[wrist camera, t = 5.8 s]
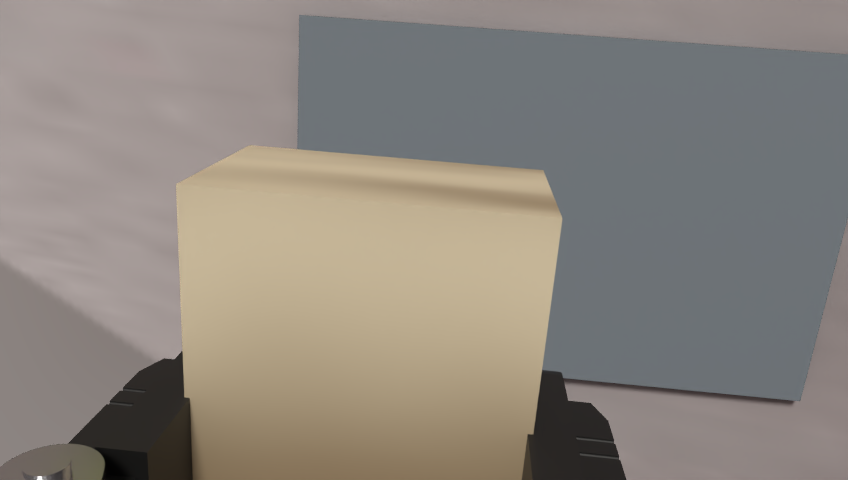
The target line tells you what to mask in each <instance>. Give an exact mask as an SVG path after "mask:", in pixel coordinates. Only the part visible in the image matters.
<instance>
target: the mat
mask: <svg viewBox="0 0 848 480" xmlns="http://www.w3.org/2000/svg"><path fill="white" fill-rule="evenodd" d="M297 149H299V150H311V151H323V152H335V153H346V154H358V155H370V156H382V157H394V158H405V159H417V160H429V161H441V162H452V163H464V164H476V165H488V166H499V167H511V168H523V169H535V170H543V171H544V173H545V176H546V178H547V181H548V183H549V186H550V188H551V191H552V193H553V196H554V198H555V201H556V203H557V206H558V208H559V211H560V213H561V216H562V226H561V233H560V241H559V248H558V255H557V263H556V270H555V278H554V285H553V292H552V300H551V307H550V315H549V322H548V329H547V337H546V344H545V352H544V359H543V366H542V370H548V371H558V372H561V373H562V375H563V378H568V379H578V380H588V381H598V382H609V383H619V384H629V385H639V386H649V387H660V388H670V389H680V390H690V391H701V392H711V393H721V394H731V395H742V396H752V397H762V398H772V399H783V400H793V401H800V400H801V396H802V392H803V388H804V384H805V381H806V377H807V373H808V369H809V365H810V361H811V357H812V354H813V350H814V346H815V342H816V338H817V334H818V330H819V327H820V323H821V319H822V315H823V311H824V307H825V303H826V300H827V296H828V292H829V288H830V284H831V280H832V276H833V273H834V269H835V265H836V261H837V257H838V253H839V249H840V246H841V242H842V238H843V234H844V230H845V226H846V222H847V218H848V55H847V54H834V53H820V52H806V51H792V50H778V49H764V48H750V47H736V46H723V45H709V44H695V43H681V42H667V41H653V40H639V39H626V38H612V37H598V36H584V35H570V34H556V33H542V32H528V31H515V30H501V29H487V28H473V27H459V26H445V25H431V24H417V23H404V22H390V21H376V20H362V19H348V18H334V17H320V16H306V15H299V78H298V146H297Z"/></svg>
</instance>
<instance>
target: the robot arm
mask: <svg viewBox="0 0 848 480" xmlns="http://www.w3.org/2000/svg"><path fill="white" fill-rule="evenodd" d="M0 480H193V473H192V445H191V417H190V398H186V397H184V374H183V351H182V352H181V353H180V354H179V355H178V356H177V357H176V358H175V359H162V360H160V361H158V362H156V363H154V364H153V365H151V366H149V367H147V368H145V369H143V370H141V371H139V372H138V373H137V374H136V375H135V376H134V377H133V378H132V379H131V380H130V381H129V382H128V383H127V384H126V385H125V386H124V387H123V391H119V392H118V393H117V394H116V395H115V396H114V397H113V398H112V399H111V400H110V404H109V405H106V406H105V407H103V409H102V410H101V411H100V412H99V413H98V414H97V415H96V416H95V417H94V418H93V419H92V420H91V421H90V422H89V423H88V424H87V425H86V426H85V427H84V428H83V429H82V430H81V431H80V432H79V433H78V434H77V435H76V436H75V437H74V438H73V439H72V440H71V441H70V442H69V443H68V444H56V445H49V446H44V447H40V448H36V449H33V450H30V451H27V452H25V453H22V454H20V455H18V456H16V457H14V458H12V459H11V460H9V461H7V462H6V463H4V464H3V465H2V466H1V467H0ZM522 480H626V477H625V474H624V471H623V468H622V464H621V461H620V460H619V455H618V451H617V448H616V445H615V444H614V439H613V435H612V432H611V429H610V426H609V423H608V420H607V419H606V418H605V417H604V416H603V415H602V414H601V413H600V412H599V411H598V410H597V409H596V408H595V407H594V406H593V405H592V404H591V403H584V402H575V401H568V398H567V393H566V389H565V384H564V380H563V375H562V373H561V372H558V371H548V370H542V374H541V381H540V389H539V396H538V403H537V411H536V418H535V426H534V433H533V435H532V434H528V436H527V443H526V451H525V458H524V466H523V473H522Z"/></svg>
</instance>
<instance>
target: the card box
mask: <svg viewBox="0 0 848 480" xmlns="http://www.w3.org/2000/svg"><path fill="white" fill-rule="evenodd" d="M176 195H177V220H178V246H179V272H180V297H181V323H182V348H183V374H184V397H186V398H190V417H191V445H192V473H193V480H522V473H523V466H524V458H525V451H526V443H527V436H528V434H532V435H533V433H534V426H535V418H536V411H537V403H538V396H539V389H540V381H541V374H542V366H543V359H544V352H545V344H546V337H547V329H548V322H549V315H550V307H551V300H552V292H553V285H554V278H555V270H556V263H557V255H558V248H559V241H560V233H561V226H562V216H561V213H560V211H559V208H558V206H557V203H556V201H555V198H554V196H553V193H552V191H551V188H550V186H549V183H548V181H547V178H546V176H545V173H544V171H543V170H535V169H523V168H511V167H499V166H488V165H476V164H464V163H452V162H441V161H429V160H417V159H405V158H394V157H382V156H370V155H358V154H346V153H335V152H323V151H311V150H299V149H288V148H276V147H264V146H252V145H249V146H247V147H245V148H244V149H242V150H240V151H238V152H236V153H234V154H232V155H230V156H228V157H227V158H225V159H223V160H221V161H219V162H217V163H215V164H213V165H211V166H209V167H208V168H206V169H204V170H202V171H200V172H198V173H196V174H194V175H192V176H191V177H189V178H187V179H185V180H183V181H181V182H179V183H177V184H176Z"/></svg>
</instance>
